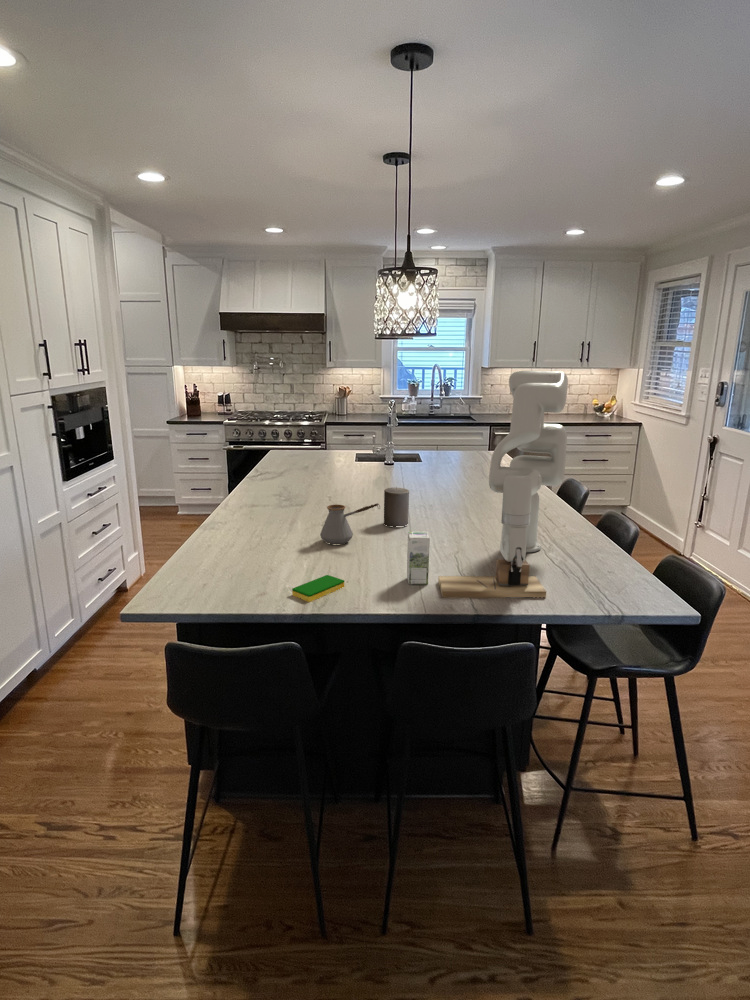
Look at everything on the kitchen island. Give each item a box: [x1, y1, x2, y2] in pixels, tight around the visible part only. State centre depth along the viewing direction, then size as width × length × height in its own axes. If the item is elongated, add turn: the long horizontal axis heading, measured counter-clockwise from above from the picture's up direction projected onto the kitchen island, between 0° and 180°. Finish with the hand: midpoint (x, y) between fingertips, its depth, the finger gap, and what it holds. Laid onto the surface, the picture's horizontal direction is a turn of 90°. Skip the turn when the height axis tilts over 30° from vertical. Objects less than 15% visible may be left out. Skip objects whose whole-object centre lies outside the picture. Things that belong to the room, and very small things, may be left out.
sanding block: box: [495, 558, 530, 586], centre depth 160 cm, size 4×8×6 cm, turn 91°
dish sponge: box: [291, 574, 345, 603], centre depth 160 cm, size 7×14×2 cm, turn 139°
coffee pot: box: [319, 503, 381, 545], centre depth 199 cm, size 21×12×15 cm, turn 76°
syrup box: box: [406, 531, 431, 586], centre depth 165 cm, size 6×6×14 cm
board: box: [437, 575, 547, 599], centre depth 161 cm, size 11×28×2 cm, turn 90°
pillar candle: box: [383, 486, 410, 527], centre depth 222 cm, size 10×10×15 cm
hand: (511, 580), depth 161 cm, fingers closed on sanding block, 4 cm apart
